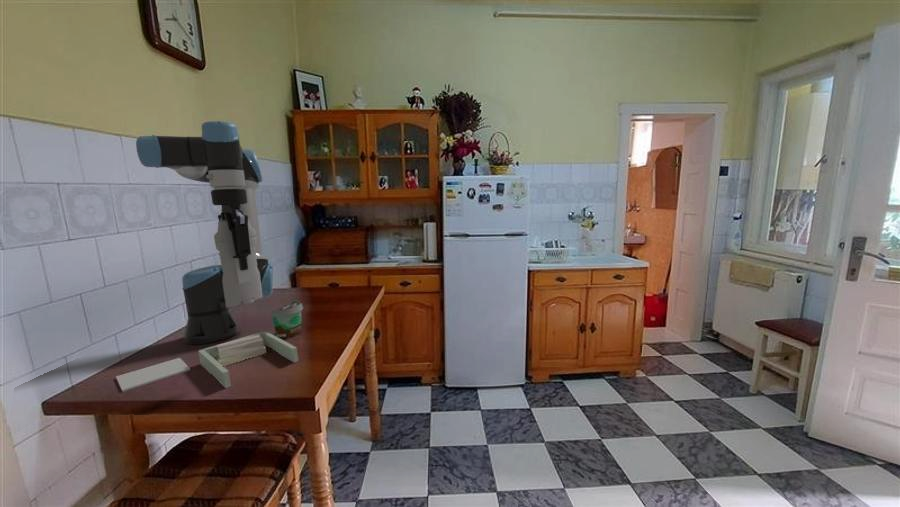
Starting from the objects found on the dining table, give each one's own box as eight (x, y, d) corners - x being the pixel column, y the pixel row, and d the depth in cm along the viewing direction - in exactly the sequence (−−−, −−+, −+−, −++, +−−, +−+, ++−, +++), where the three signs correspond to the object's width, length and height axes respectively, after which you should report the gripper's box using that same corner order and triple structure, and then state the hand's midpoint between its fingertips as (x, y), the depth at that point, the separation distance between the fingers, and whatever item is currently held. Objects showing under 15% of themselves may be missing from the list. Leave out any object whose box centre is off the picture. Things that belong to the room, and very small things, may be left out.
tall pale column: (229, 309, 91) (216, 219, 87) (219, 307, 93) (206, 219, 89) (268, 297, 100) (258, 215, 96) (259, 296, 102) (248, 215, 98)
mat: (116, 378, 98) (115, 376, 98) (180, 359, 108) (179, 357, 108) (122, 392, 90) (122, 390, 90) (190, 370, 100) (189, 368, 100)
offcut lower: (215, 362, 106) (213, 354, 105) (260, 349, 114) (259, 341, 113) (219, 369, 101) (218, 360, 101) (266, 355, 109) (265, 347, 109)
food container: (291, 341, 117) (287, 311, 116) (274, 341, 119) (270, 311, 117) (312, 327, 129) (309, 300, 128) (297, 327, 130) (293, 299, 129)
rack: (200, 364, 104) (198, 350, 103) (267, 342, 117) (265, 330, 117) (225, 388, 90) (223, 372, 89) (298, 361, 103) (296, 347, 102)
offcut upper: (217, 353, 106) (216, 345, 105) (260, 342, 112) (259, 334, 112) (220, 359, 102) (218, 350, 101) (263, 347, 108) (262, 339, 108)
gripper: (200, 189, 94) (214, 280, 98) (223, 187, 83) (237, 289, 87) (232, 189, 99) (244, 274, 103) (258, 187, 88) (270, 282, 92)
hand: (241, 281), depth 95 cm, fingers closed on tall pale column, 3 cm apart
